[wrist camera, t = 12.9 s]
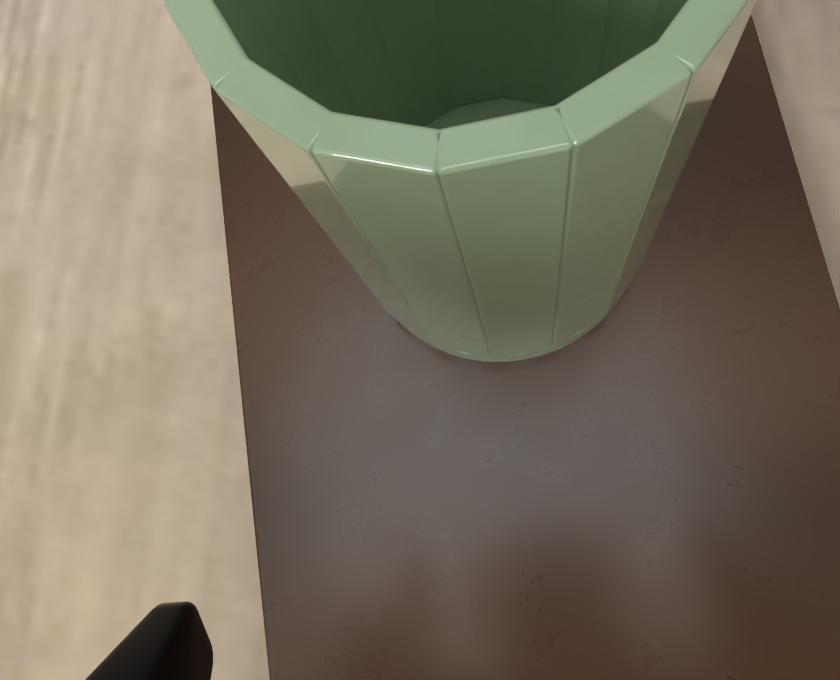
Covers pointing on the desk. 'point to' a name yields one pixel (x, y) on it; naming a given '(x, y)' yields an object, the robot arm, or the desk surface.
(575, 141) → the pencil cup
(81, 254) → the desk surface
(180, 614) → the robot arm
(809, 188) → the desk surface
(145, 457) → the desk surface
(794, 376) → the walnut board
